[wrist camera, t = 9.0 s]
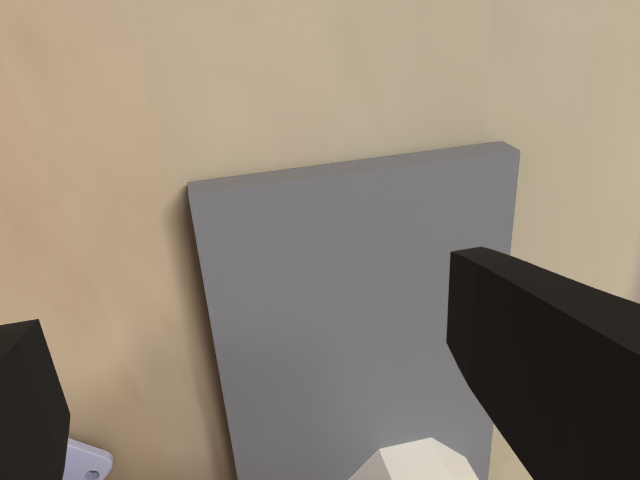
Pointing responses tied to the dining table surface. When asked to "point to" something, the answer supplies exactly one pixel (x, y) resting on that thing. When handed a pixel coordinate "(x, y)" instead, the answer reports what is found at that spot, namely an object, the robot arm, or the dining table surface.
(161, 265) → the dining table surface
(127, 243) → the dining table surface
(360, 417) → the gray board
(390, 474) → the cream ring
